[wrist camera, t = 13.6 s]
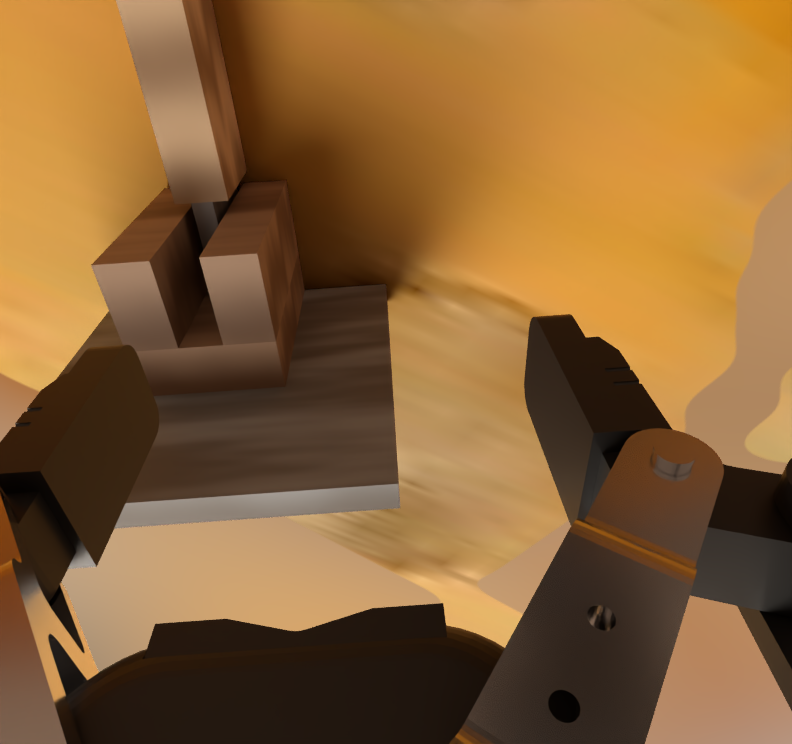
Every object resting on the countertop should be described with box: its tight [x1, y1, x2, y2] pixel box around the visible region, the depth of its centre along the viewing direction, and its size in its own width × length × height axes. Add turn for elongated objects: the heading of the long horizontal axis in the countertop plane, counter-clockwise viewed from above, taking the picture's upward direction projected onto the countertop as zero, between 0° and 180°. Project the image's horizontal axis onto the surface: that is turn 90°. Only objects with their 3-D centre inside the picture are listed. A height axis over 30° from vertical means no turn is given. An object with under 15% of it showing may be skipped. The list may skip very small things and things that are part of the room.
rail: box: [116, 0, 247, 250], centre depth 31 cm, size 18×3×6 cm, turn 3°
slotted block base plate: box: [57, 180, 400, 528], centre depth 31 cm, size 10×20×20 cm, turn 93°
